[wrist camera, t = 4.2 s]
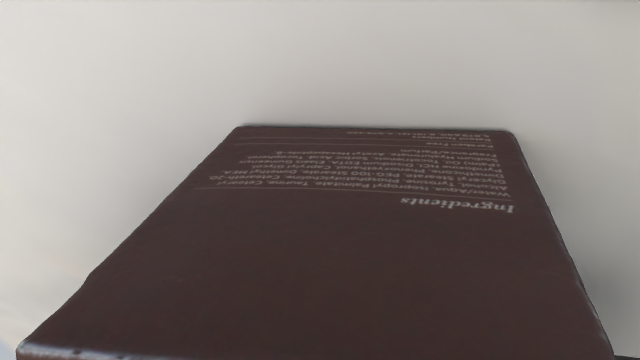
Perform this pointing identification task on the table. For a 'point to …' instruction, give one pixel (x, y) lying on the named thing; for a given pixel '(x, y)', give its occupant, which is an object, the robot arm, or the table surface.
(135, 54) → the table surface
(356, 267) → the box
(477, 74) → the table surface
